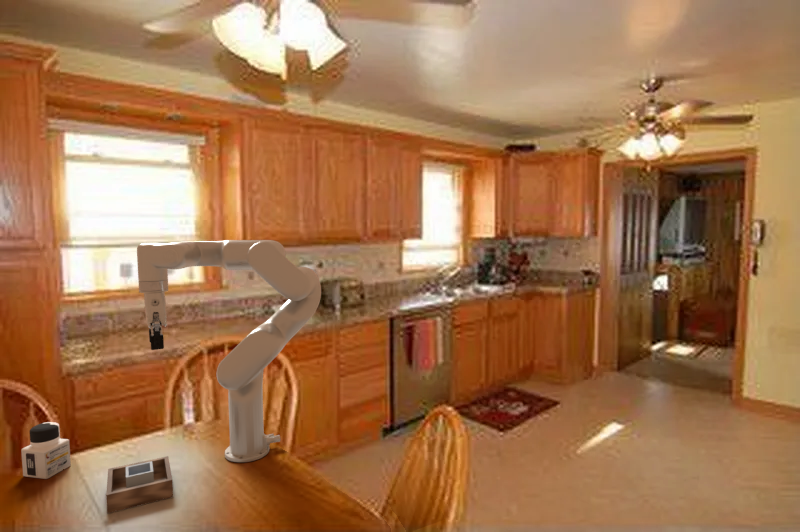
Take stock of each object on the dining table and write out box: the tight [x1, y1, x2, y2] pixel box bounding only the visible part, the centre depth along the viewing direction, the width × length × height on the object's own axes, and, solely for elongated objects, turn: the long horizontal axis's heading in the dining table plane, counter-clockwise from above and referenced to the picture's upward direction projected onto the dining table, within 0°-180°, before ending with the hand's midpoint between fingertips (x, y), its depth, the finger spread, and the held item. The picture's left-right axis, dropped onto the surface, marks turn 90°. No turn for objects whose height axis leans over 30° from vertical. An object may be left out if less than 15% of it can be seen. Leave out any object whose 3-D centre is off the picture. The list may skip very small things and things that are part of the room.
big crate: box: [105, 455, 174, 514], centre depth 124 cm, size 14×14×4 cm
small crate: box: [126, 461, 154, 488], centre depth 124 cm, size 6×6×5 cm
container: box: [21, 421, 72, 480], centre depth 134 cm, size 8×8×13 cm
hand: (156, 345), depth 141 cm, fingers open, 9 cm apart
